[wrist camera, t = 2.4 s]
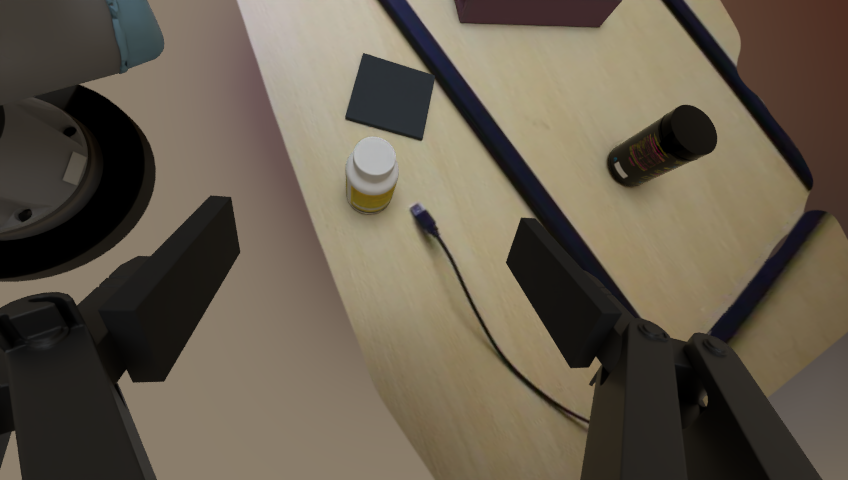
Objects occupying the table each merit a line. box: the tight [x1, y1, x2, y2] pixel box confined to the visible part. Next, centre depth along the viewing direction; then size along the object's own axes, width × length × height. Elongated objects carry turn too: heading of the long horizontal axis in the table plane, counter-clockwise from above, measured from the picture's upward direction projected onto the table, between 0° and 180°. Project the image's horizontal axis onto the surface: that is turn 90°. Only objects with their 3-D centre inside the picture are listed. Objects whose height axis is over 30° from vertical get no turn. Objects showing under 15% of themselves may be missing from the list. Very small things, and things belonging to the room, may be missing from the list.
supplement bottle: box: [346, 137, 399, 214], centre depth 35 cm, size 5×5×10 cm
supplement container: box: [609, 105, 717, 186], centre depth 44 cm, size 7×7×10 cm
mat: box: [346, 53, 435, 140], centre depth 43 cm, size 10×10×1 cm
